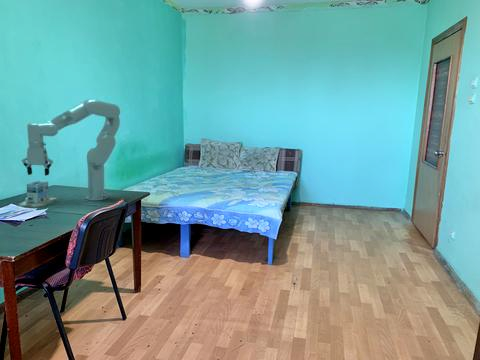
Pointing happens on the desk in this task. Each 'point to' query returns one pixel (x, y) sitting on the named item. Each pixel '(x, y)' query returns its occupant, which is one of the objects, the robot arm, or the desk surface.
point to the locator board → (40, 204)
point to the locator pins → (28, 201)
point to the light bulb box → (37, 191)
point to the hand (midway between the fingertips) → (38, 174)
